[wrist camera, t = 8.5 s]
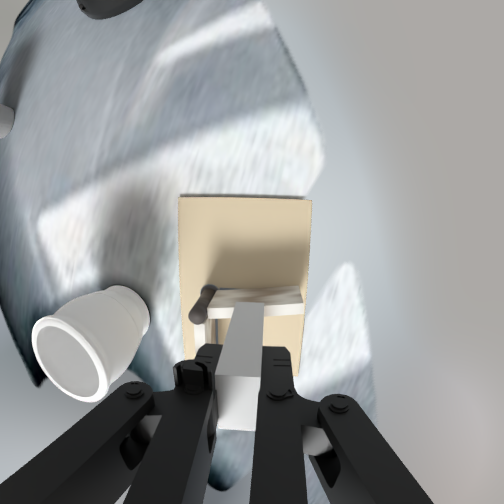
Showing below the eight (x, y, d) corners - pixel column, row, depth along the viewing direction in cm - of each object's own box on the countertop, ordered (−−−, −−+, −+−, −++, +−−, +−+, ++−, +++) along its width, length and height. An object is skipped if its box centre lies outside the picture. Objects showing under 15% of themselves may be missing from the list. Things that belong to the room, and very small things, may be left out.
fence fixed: (200, 284, 36) (185, 305, 29) (219, 285, 36) (207, 306, 29) (204, 374, 39) (193, 405, 32) (221, 376, 39) (212, 407, 31)
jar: (87, 317, 39) (27, 362, 24) (107, 263, 37) (37, 297, 22) (142, 356, 39) (96, 418, 25) (169, 305, 37) (118, 363, 23)
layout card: (179, 197, 35) (178, 197, 34) (311, 200, 34) (312, 200, 33) (186, 367, 39) (185, 369, 39) (297, 374, 38) (297, 376, 38)
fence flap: (298, 282, 35) (304, 303, 28) (298, 296, 35) (304, 319, 28) (201, 288, 36) (187, 309, 29) (203, 302, 36) (189, 324, 29)
